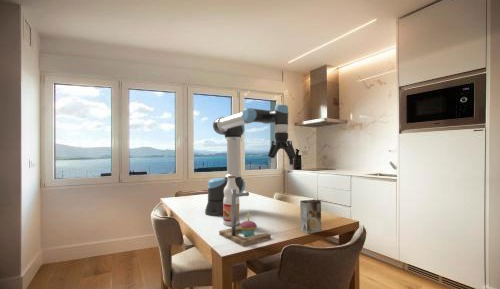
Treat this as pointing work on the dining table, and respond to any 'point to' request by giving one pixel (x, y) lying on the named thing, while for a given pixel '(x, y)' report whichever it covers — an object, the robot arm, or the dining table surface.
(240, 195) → the hook post
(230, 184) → the fruit juice
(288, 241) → the dining table surface
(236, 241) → the wooden u-shaped base
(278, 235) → the dining table surface
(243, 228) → the cupcake
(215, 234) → the dining table surface
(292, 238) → the dining table surface
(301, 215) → the coffee box
